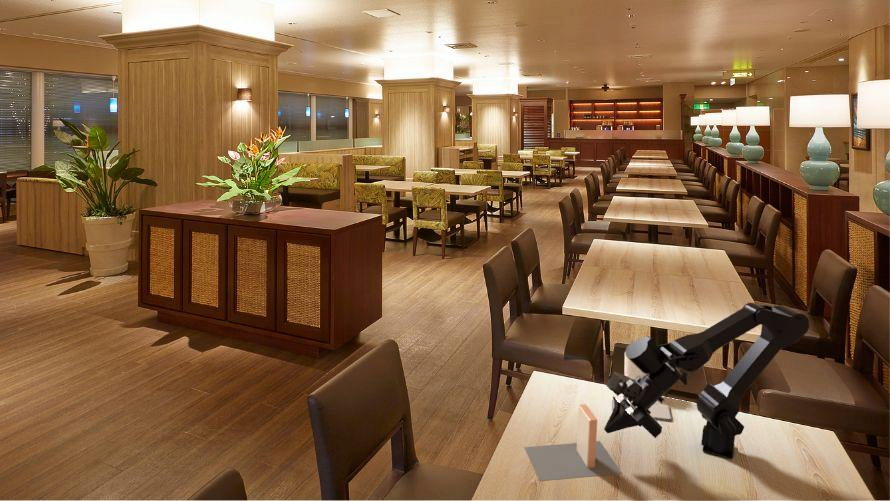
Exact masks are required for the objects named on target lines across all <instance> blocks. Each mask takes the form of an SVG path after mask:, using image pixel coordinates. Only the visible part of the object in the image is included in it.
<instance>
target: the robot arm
mask: <svg viewBox="0 0 890 501" xmlns="http://www.w3.org/2000/svg"><path fill="white" fill-rule="evenodd" d="M758 326H761V329H760V330H761V331H760V335H759V336H758V338H757V339H756V340H755V342H754V343H753V344H752V345H751V347H749V349H748V350H747V351H746V352H745V354H744V355H743V356H742V357H741V359H739V361H738V362H737V363H736V364H735V366H734V367H733V368H732V369H731V371H730V372H729V373H728V375H727V376H726V377H725V378H724V380H723V381H722V382H721V383H717V384H715V385H713V384H711V383H707V384H706V385H705V387H704V388H703V390H702V391H701V392H700V393H698V394H697V396H698V398H697V400H696V403H695V404H696V409H697V411H698V412H699V413H700V414H701V417H702V419H705V421H706V424H705V425H703V428H702V434H701V446H702V452H703V453H707V454H710V455H715V456H719V457H721V458H722V457H723V458H727V459H730V460H731V459H734V453H735V447H736V446H735V439H736V436H739V435H742V433H743V431H744V429H745V426H744V425H743V424H742V422H740V420H738V418H736V417H737V415H738V414H739V412H740V408H741V400H742V398H743V396H744V394H745V393H746V392H747V391H748V389H749V388H750V387H751V386H752V384H753V383H754V382H756V380H757V378H758V377H759V376H760V375H761V374H762V372H763V371H764V370H765V369H766V367H767V366H768V365H769V364H770V363H771V362H772V360H773V359H774V358H775V357H776V356H777V354H778V353H779V352H780V351H781V350H782V349H783V348H786V347H788V346H791V345H793V344H796V343H797V342H798V341H800V339H801V338H802V337H803V336H804V335H806V333H808V331H809V329H810V321H809V317H808V316H807V315H805V314H803V313H801V312H799V311H797V310H795V309H793V308H791V307H789V306H786V305H784V304H780V305H774V306H772V305H771V306H770V305H767V304H757V303H755V302H748V303H746V304H744V305H743V307H742V308H740V309H739V310H736V311H735V312H734V313H732V314H730V315H729V316H727V317H726V318H725V317H724V318H723V319H721V320H720V321H718V322H716V323H715V324H713V325H711V326H710V327H708V328H706V329H705V330H703V331H700V332H698V333H692V334H686V335H683V336H681V337H678V338H676V339H674V340H672V341H671V342H668V343H662V344H657V343H656V341H655V340H654V339H653V338H652V337H651V336H649V335H646V336H645V337H643V338H637V339H636V340H634V341H631V342H630V343H629V344H628V345H627V347H626V349H625V351H624V355H625V354H626V357H627V358H628V359H629V360H630V361H631V362H632V363H633V364H634V365H636V366H637V367H638V368H639V369H640V370H641V371H642V372H643V373H646V376H647V377H646V376H644V377H643V378H641V377H640V376H636V377H635V378H634V379H631V378H629V377H627V376H625V375H624V374H621V373H620V372H617V371H613V373H612V375H611V377H610V378H609V379H608V380H607V382H605V386H606V387H607V388H608V389H609V390H610V391H611V392H613V393H614V394H615V395H616V397H615V396H614V395H613V396H612V400H613V399H614V409H613V411H612V412H611V414H610V416H609V418H608V420H607V422H606V424H605V426H604V429H603V430H604V431H605V432H606V433H607V434H610V433H615V432H617V431H620V430H624V429H629V428H634V427H643V429H644V430H646V431H647V432H648V433H649V434H650V435H651V436H652V437H653V438H654V439H656V438H657V437H659V435H661V434H662V431H663V426H662V425H661V424H660V423H659V422H658V420H655V419H654V418H653V417H652V416H651V415H650V413H651V412H650V411H649V410H648V409H649V408H650V407H651V406H652V405H654V404H655V403H657V402H660V404H663V402H664V401H665V399H664V398H662V397H663V396H664V395H665V394H666V393H667V392H668V391H669V390H670V389H671V388H672V387H674V386H675V385H676V383H678V382H680V383H681V384H683V385H684V386H688V373H687V372H690V373H693V372H696V371H698V370H700V369H701V368H702V367H704V365H706V364H707V363H709V361H710V360H711V358H712V356H713V354H714V353H715V352H716V351H718V350H719V349H720V348H723V347H724V346H727V344H729V343H731V342H733V341H734V340H736V339H738V338H739V337H741V336H744V334H746V333H748V332H750V331H751V330H753V329H755V328H757V327H758ZM666 361H667V362H666ZM678 368H681V369H678ZM631 401H633V402H631ZM636 406H637V408H636Z"/></svg>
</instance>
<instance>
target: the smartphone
mask: <svg viewBox="0 0 890 501" xmlns="http://www.w3.org/2000/svg"><path fill="white" fill-rule="evenodd" d="M631 402H633V401H631ZM636 408H637V406H636ZM613 409H614V399H613V398H612V400H611V411H612V412H613ZM648 410H649V411H650V412H651V413H650V415H651V416H652V417H653V418H654V419H655V420H656V421H664V422H671V421H672V418H673V417H672V415H671V410H670V405H669V404H664V403H657V402H656V403H655V404H654V405H652V406H651V407H650V408H649V409H648Z"/></svg>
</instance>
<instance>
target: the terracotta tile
mask: <svg viewBox="0 0 890 501" xmlns="http://www.w3.org/2000/svg"><path fill="white" fill-rule="evenodd" d="M577 413H578V415H577V434H576V435H577V436H576V437H577V438H576V443H577V452H578V453H579V455H580V456H581V458H582V460H583V461H584V463H585V465H586V466H587V467H588V468H593V467H595V453H596V441H597V435H598V434H597V433H598V432H597V431H598V418H597V417H596V416H595V414H594V413H593V412H592V411H591V409H590V408H589V406H588V405H587V403H585V404H584V403H583V404H579V406H578V412H577Z"/></svg>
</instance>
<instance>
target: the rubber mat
mask: <svg viewBox="0 0 890 501" xmlns="http://www.w3.org/2000/svg"><path fill="white" fill-rule="evenodd" d="M524 450H525V452H526V455H527V457H528V459H529V461H530V463H531V465H532V467H533V470H534V472H535V474H536V476H537V479H538V481H539V482H542V481H543V482H544V481H554V480H555V481H557V480H565V479H566V480H567V479H568V480H569V479H576V478H579V479H580V478H591V477H598V476H599V477H601V476H610V475H622V474H623V472H622V471H621V469H620V468H619V467H618V465H617V463H616V462H615V461H614V459H613V458H612V456H611V455H610V453H609V452H608V451H607V449H606V447H605V446H604V445H603V443H602V442H601V441H600V440H596V453H595V467H593V468H588V467H587V466H586V465H585V463H584V461H583V460H582V458H581V456H580V455H579V453H578V452H577V442H571V443H560V444H549V445H546V444H545V445H534V446H524Z"/></svg>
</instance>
